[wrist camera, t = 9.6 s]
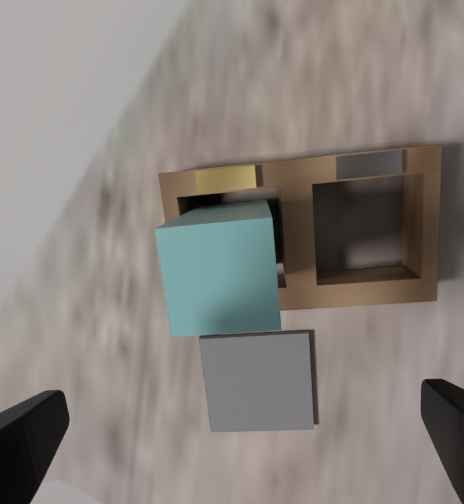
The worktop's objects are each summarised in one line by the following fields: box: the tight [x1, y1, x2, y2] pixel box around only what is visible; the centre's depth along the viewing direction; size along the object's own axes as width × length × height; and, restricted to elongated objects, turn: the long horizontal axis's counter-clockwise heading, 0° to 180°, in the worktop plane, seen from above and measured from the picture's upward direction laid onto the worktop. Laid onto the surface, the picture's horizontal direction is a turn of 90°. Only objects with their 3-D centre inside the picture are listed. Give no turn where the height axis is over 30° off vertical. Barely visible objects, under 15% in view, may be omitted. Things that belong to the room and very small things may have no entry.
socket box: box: [159, 144, 442, 311], centre depth 19 cm, size 14×8×3 cm, turn 96°
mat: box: [199, 330, 314, 432], centre depth 22 cm, size 7×7×1 cm
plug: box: [154, 200, 281, 337], centre depth 16 cm, size 4×4×9 cm
